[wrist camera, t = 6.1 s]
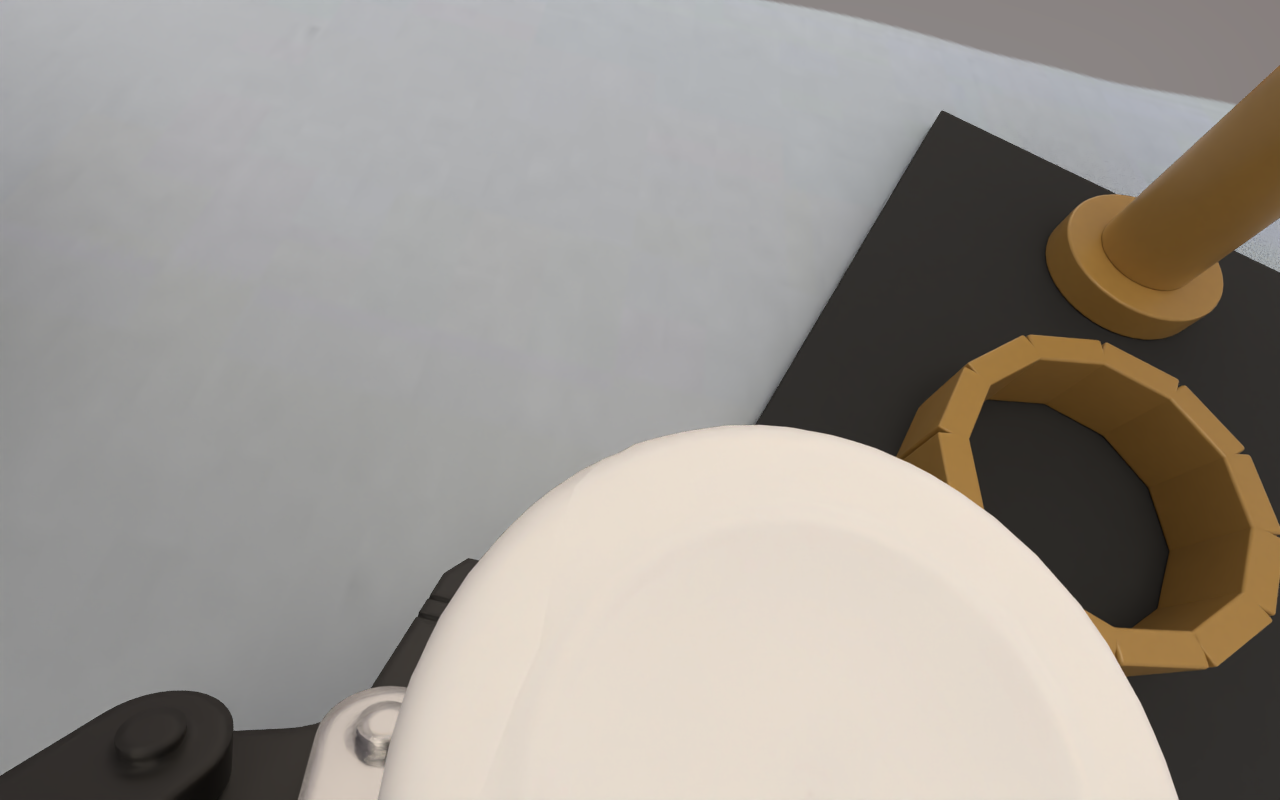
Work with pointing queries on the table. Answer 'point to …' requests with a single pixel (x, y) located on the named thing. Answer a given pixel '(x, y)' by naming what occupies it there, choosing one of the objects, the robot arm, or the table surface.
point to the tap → (1150, 385)
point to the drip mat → (1052, 414)
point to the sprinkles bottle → (766, 644)
